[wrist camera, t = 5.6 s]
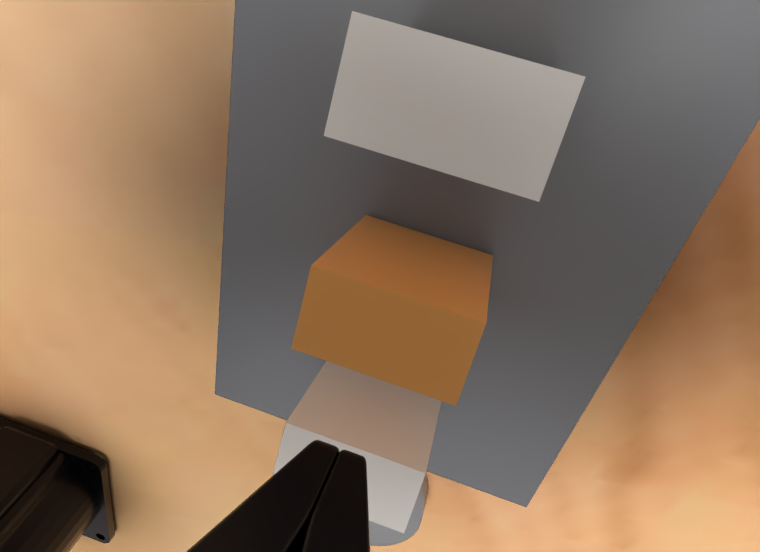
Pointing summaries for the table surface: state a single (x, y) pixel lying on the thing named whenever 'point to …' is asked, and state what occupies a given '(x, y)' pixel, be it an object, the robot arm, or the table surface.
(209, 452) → the table surface
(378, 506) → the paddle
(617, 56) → the panel
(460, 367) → the orange rectangular block
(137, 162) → the table surface
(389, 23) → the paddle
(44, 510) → the robot arm
